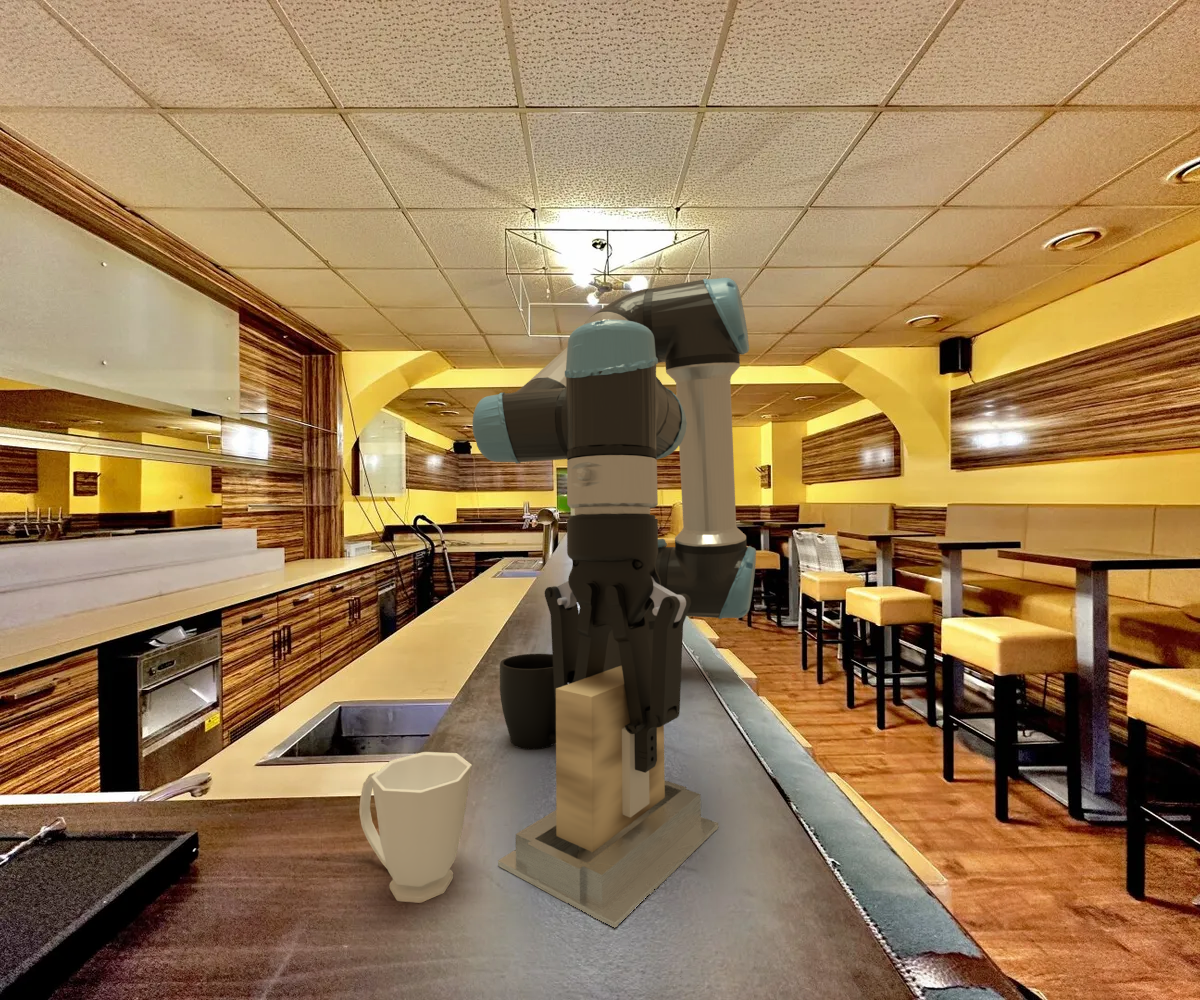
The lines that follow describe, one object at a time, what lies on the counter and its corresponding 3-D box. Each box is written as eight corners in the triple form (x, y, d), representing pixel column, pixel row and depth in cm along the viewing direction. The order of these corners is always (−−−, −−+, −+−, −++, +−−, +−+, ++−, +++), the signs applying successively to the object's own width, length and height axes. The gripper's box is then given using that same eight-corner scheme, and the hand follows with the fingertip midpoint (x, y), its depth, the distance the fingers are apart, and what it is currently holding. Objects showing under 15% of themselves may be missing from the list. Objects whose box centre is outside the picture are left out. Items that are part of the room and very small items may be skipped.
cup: (418, 930, 36) (419, 801, 36) (321, 882, 40) (322, 769, 41) (491, 871, 42) (491, 761, 42) (398, 835, 47) (400, 737, 47)
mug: (556, 770, 59) (556, 679, 59) (485, 742, 67) (485, 662, 67) (605, 746, 65) (605, 664, 66) (535, 723, 73) (535, 650, 73)
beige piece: (614, 791, 54) (614, 763, 54) (718, 827, 47) (717, 796, 48) (498, 865, 42) (498, 830, 42) (614, 929, 36) (614, 887, 36)
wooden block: (631, 786, 50) (629, 662, 50) (664, 797, 48) (663, 668, 48) (556, 836, 42) (555, 688, 43) (592, 852, 40) (591, 696, 40)
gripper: (509, 513, 48) (509, 789, 47) (677, 508, 38) (681, 860, 37) (566, 514, 54) (567, 759, 53) (724, 510, 44) (729, 813, 43)
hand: (614, 800), depth 45 cm, fingers closed on wooden block, 3 cm apart
